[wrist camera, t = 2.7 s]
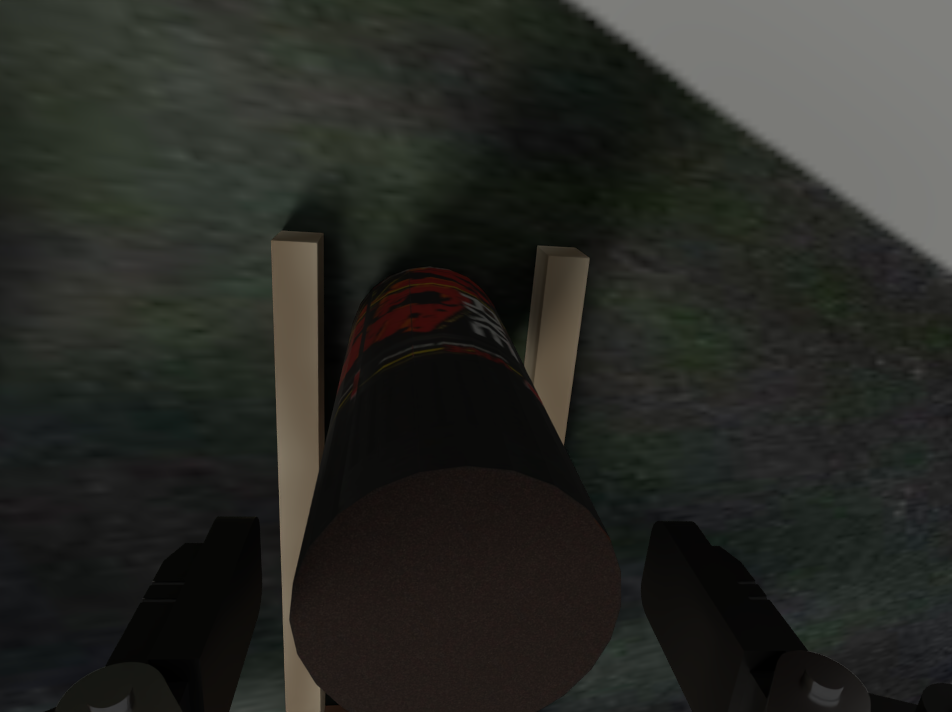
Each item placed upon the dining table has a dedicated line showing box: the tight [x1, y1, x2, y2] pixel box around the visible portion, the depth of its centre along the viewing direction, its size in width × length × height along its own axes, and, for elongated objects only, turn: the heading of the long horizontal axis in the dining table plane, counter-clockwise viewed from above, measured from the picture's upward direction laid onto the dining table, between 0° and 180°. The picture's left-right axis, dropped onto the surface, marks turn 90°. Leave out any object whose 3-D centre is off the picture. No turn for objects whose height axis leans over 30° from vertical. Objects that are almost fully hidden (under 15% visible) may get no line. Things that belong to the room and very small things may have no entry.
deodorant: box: [289, 266, 621, 712], centre depth 18 cm, size 6×6×15 cm
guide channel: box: [271, 231, 590, 712], centre depth 27 cm, size 11×26×4 cm, turn 176°
